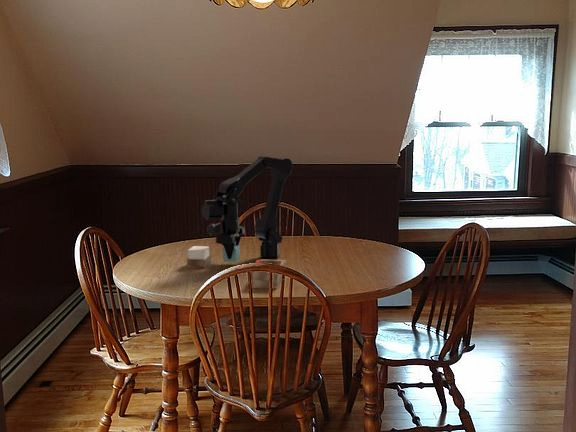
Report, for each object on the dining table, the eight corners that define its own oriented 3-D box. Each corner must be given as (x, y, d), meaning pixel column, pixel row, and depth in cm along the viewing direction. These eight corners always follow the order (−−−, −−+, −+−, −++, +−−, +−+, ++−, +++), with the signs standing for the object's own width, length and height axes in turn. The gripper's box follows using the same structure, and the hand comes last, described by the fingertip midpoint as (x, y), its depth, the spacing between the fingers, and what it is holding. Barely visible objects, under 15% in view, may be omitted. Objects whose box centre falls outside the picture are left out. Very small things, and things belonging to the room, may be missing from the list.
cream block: (209, 255, 226) (208, 246, 225) (204, 259, 220) (203, 250, 219) (193, 255, 227) (193, 246, 226) (188, 258, 221) (188, 249, 221)
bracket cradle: (285, 275, 209) (285, 260, 208) (277, 288, 194) (277, 272, 193) (260, 274, 211) (260, 259, 210) (250, 287, 196) (249, 271, 195)
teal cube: (239, 258, 226) (239, 245, 225) (236, 261, 221) (235, 248, 220) (226, 258, 226) (226, 245, 226) (223, 261, 222) (222, 248, 221)
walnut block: (211, 264, 227) (210, 255, 226) (205, 269, 220) (205, 259, 219) (193, 263, 228) (193, 254, 227) (187, 268, 221) (186, 259, 221)
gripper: (216, 211, 231) (217, 250, 234) (201, 220, 213) (202, 263, 216) (244, 211, 229) (245, 251, 232) (231, 221, 211) (232, 263, 214)
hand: (231, 257), depth 223 cm, fingers closed on teal cube, 5 cm apart
